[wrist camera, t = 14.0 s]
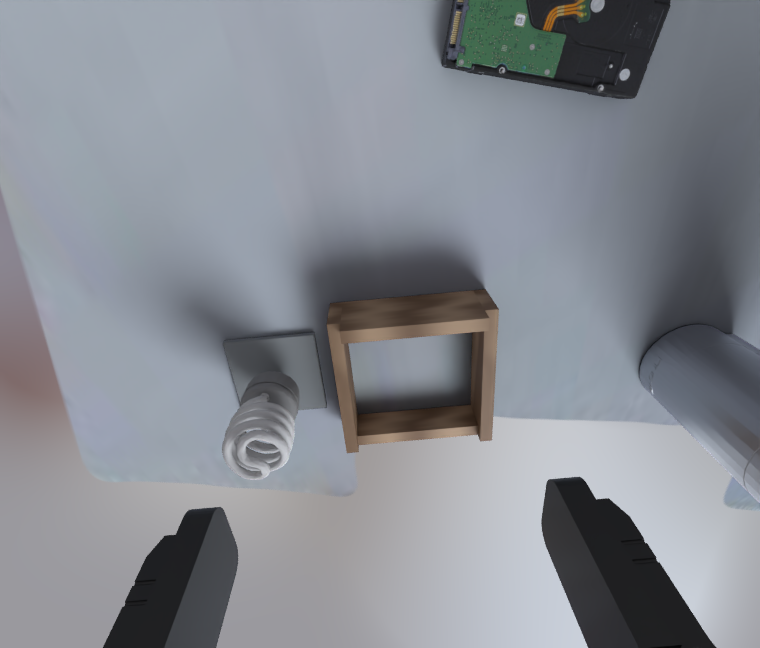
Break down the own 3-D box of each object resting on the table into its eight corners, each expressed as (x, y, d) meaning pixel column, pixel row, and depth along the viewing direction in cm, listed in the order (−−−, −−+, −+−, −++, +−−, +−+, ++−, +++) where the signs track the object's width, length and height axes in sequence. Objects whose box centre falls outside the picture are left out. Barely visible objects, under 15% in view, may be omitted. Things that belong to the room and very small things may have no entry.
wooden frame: (485, 289, 41) (503, 316, 35) (480, 412, 48) (495, 450, 42) (330, 303, 41) (325, 332, 35) (348, 423, 48) (346, 463, 42)
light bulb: (312, 393, 45) (296, 484, 34) (261, 403, 45) (230, 496, 35) (297, 349, 42) (275, 432, 32) (242, 359, 43) (203, 445, 32)
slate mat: (314, 332, 42) (313, 335, 42) (326, 404, 46) (326, 407, 46) (224, 340, 42) (222, 343, 42) (245, 411, 46) (243, 415, 46)
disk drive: (675, -67, 30) (469, -110, 28) (704, -83, 27) (480, -131, 25) (617, 100, 34) (438, 71, 33) (638, 99, 32) (445, 68, 30)
